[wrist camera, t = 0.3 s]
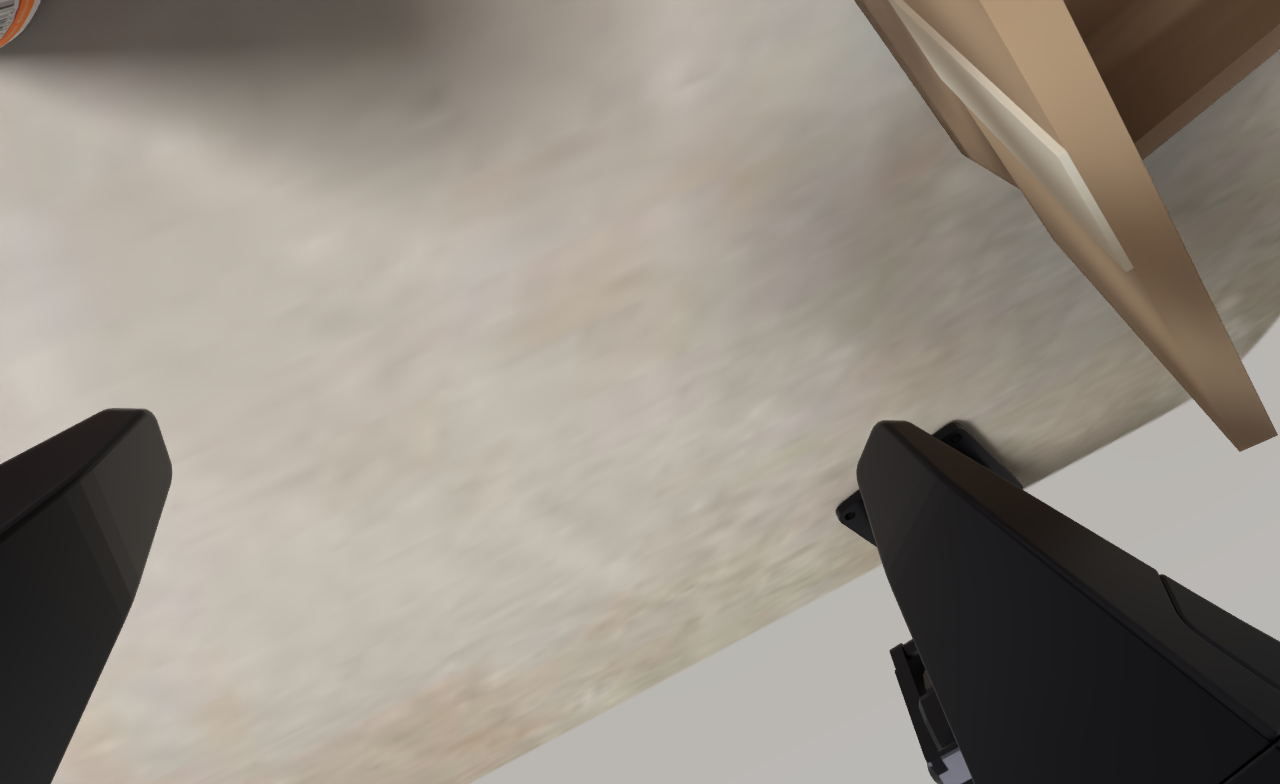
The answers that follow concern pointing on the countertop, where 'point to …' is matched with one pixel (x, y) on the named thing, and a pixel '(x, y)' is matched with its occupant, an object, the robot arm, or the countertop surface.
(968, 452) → the robot arm
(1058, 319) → the countertop surface
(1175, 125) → the box
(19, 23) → the pill bottle
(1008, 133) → the lid
